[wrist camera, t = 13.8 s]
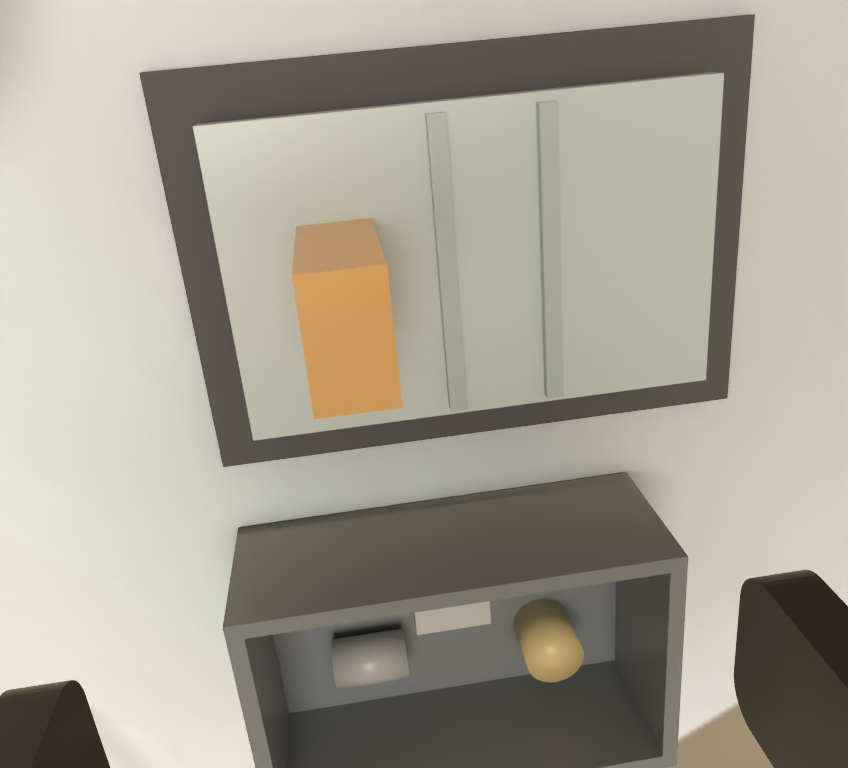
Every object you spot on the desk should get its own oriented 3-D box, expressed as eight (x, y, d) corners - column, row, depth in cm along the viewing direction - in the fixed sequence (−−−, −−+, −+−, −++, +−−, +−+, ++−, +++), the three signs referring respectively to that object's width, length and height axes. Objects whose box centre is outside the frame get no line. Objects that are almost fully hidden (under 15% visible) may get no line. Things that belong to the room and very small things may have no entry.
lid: (698, 71, 27) (838, 79, 20) (685, 362, 31) (795, 455, 24) (200, 121, 25) (156, 150, 18) (256, 418, 30) (238, 536, 23)
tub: (625, 472, 33) (687, 556, 28) (622, 659, 37) (676, 765, 32) (238, 527, 32) (222, 627, 26) (278, 715, 36) (271, 835, 30)
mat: (748, 14, 27) (754, 14, 26) (722, 394, 32) (727, 398, 32) (142, 72, 25) (139, 72, 25) (224, 461, 31) (223, 466, 30)
